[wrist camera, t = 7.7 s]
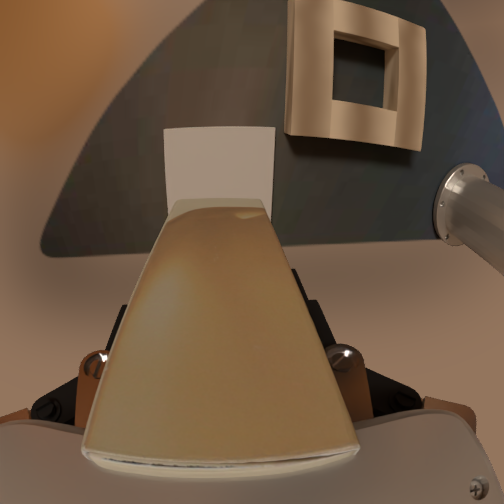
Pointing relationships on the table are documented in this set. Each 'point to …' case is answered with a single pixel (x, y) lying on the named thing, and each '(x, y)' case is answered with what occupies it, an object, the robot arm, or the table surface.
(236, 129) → the mat
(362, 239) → the table surface
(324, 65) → the holder
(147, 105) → the table surface
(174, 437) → the skincare box
